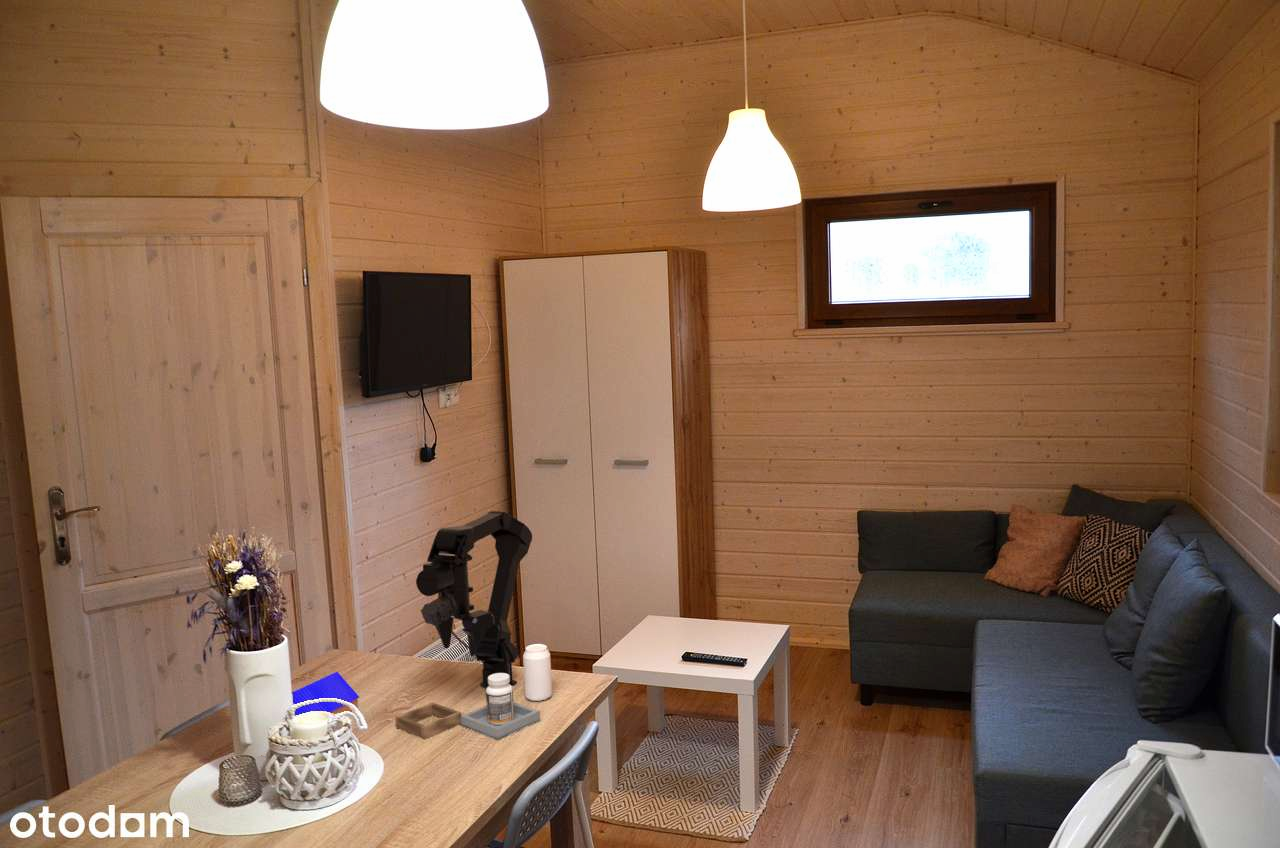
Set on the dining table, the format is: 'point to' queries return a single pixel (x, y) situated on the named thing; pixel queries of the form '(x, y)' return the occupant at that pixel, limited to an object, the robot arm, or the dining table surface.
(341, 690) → the blue ribbed roof
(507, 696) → the pill bottle
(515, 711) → the tray
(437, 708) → the socket collar
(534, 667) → the beverage can
